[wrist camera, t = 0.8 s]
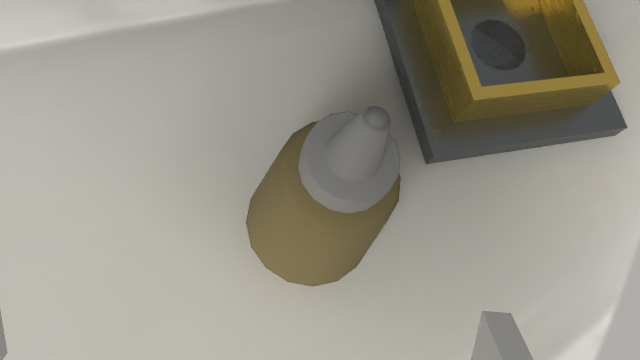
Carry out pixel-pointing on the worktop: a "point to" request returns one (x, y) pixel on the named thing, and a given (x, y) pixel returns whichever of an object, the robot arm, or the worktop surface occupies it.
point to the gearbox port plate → (500, 74)
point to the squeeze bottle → (326, 197)
